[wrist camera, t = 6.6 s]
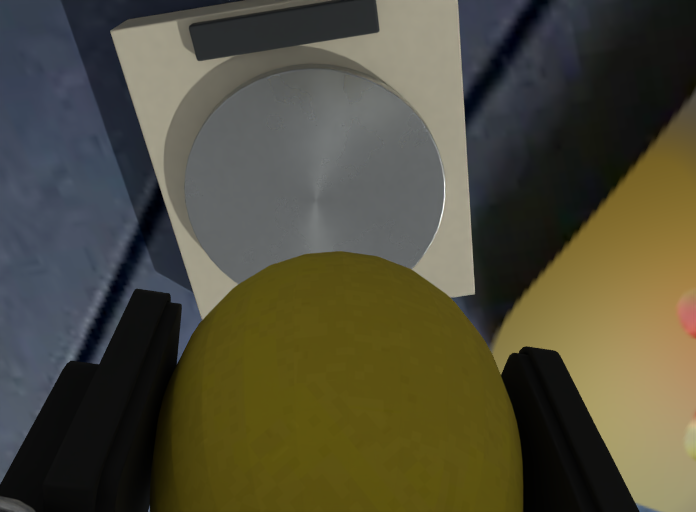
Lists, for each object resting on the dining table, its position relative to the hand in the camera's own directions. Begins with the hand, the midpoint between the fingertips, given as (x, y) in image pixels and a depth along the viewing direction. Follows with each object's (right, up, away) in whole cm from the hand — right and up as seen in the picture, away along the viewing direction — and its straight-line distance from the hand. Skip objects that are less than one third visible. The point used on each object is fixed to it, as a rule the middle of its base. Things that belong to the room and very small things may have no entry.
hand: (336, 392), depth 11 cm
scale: (-1, +6, +16) cm, 17 cm away
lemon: (0, +2, +3) cm, 3 cm away
